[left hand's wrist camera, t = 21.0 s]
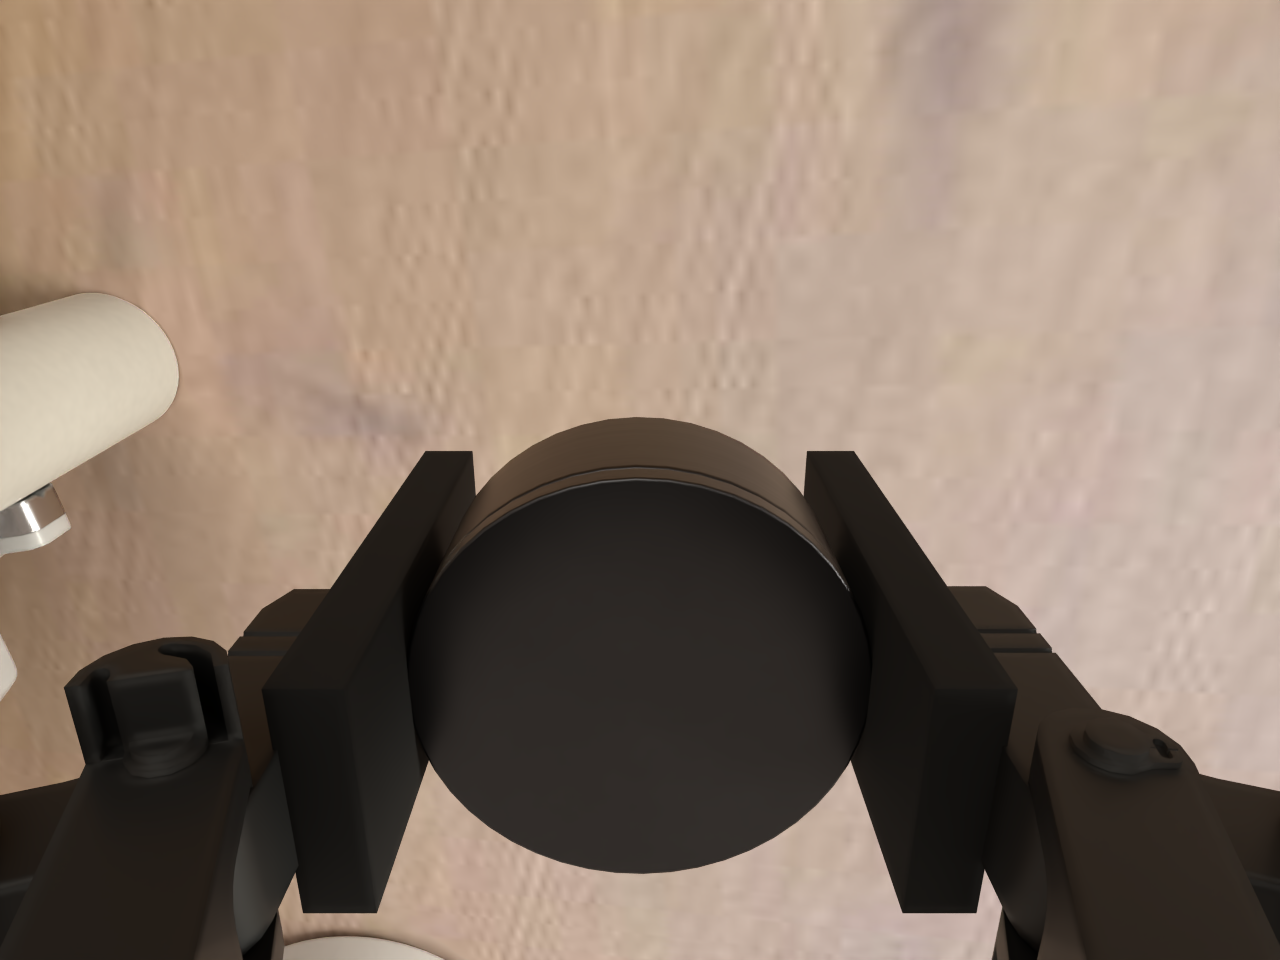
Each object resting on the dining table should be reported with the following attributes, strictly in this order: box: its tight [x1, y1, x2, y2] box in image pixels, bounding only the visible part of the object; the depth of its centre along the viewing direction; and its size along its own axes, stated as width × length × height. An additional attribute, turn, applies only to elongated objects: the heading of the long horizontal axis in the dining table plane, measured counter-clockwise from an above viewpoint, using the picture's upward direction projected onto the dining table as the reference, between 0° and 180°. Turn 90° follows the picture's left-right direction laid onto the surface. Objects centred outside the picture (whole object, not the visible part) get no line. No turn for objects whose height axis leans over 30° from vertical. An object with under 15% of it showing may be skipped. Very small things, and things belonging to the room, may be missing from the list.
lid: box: [407, 417, 872, 874], centre depth 11 cm, size 6×5×2 cm
